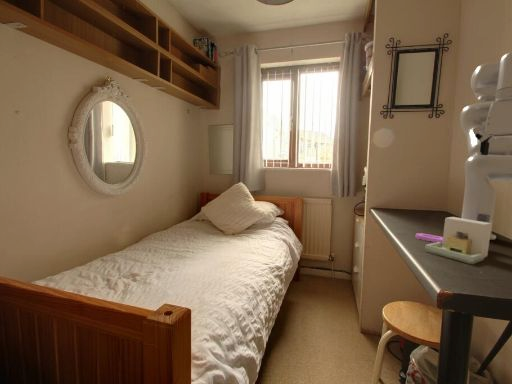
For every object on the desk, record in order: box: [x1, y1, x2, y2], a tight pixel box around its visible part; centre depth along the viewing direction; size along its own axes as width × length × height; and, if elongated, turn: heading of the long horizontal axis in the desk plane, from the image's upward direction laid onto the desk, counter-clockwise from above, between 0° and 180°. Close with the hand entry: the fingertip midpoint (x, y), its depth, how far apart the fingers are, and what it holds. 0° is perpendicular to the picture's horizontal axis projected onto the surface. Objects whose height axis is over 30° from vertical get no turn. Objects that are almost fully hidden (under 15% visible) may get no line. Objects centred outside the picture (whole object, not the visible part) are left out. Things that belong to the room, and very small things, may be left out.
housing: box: [441, 216, 493, 258], centre depth 82 cm, size 5×10×10 cm, turn 31°
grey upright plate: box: [461, 214, 490, 239], centre depth 85 cm, size 13×2×7 cm, turn 121°
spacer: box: [446, 236, 472, 255], centre depth 80 cm, size 3×5×4 cm
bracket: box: [415, 232, 443, 245], centre depth 95 cm, size 13×6×7 cm, turn 45°
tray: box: [424, 242, 486, 265], centre depth 79 cm, size 8×12×2 cm, turn 31°
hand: (504, 154), depth 80 cm, fingers open, 9 cm apart
